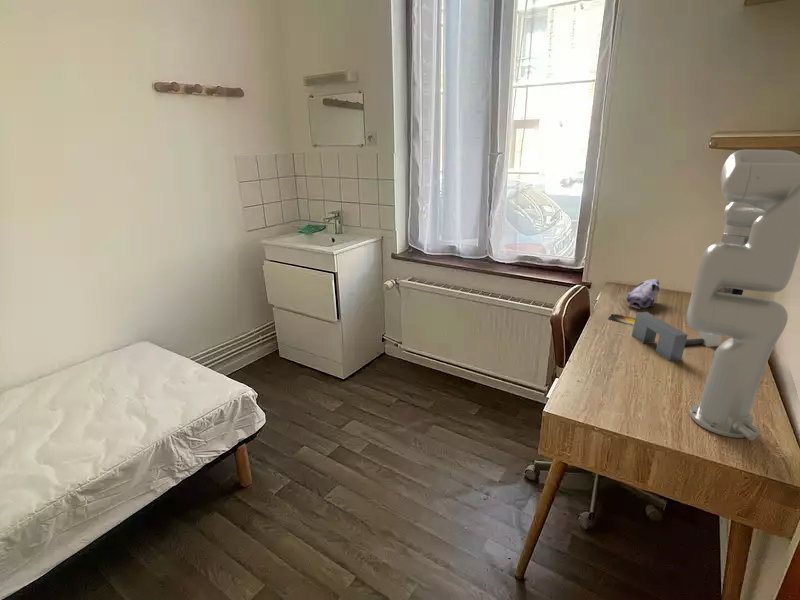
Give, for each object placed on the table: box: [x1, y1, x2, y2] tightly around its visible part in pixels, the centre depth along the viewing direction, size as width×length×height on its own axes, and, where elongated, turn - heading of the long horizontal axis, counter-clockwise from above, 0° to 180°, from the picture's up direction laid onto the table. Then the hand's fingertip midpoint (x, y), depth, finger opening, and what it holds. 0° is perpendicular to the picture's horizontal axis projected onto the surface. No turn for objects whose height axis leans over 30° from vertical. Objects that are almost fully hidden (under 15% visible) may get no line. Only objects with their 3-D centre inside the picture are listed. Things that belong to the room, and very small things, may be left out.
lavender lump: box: [626, 278, 662, 310], centre depth 174 cm, size 10×18×10 cm, turn 127°
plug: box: [685, 331, 723, 348], centre depth 143 cm, size 4×16×4 cm, turn 98°
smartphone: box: [607, 313, 636, 326], centre depth 161 cm, size 7×1×15 cm
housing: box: [631, 311, 688, 362], centre depth 140 cm, size 18×4×8 cm, turn 8°
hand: (722, 293), depth 138 cm, fingers open, 9 cm apart
